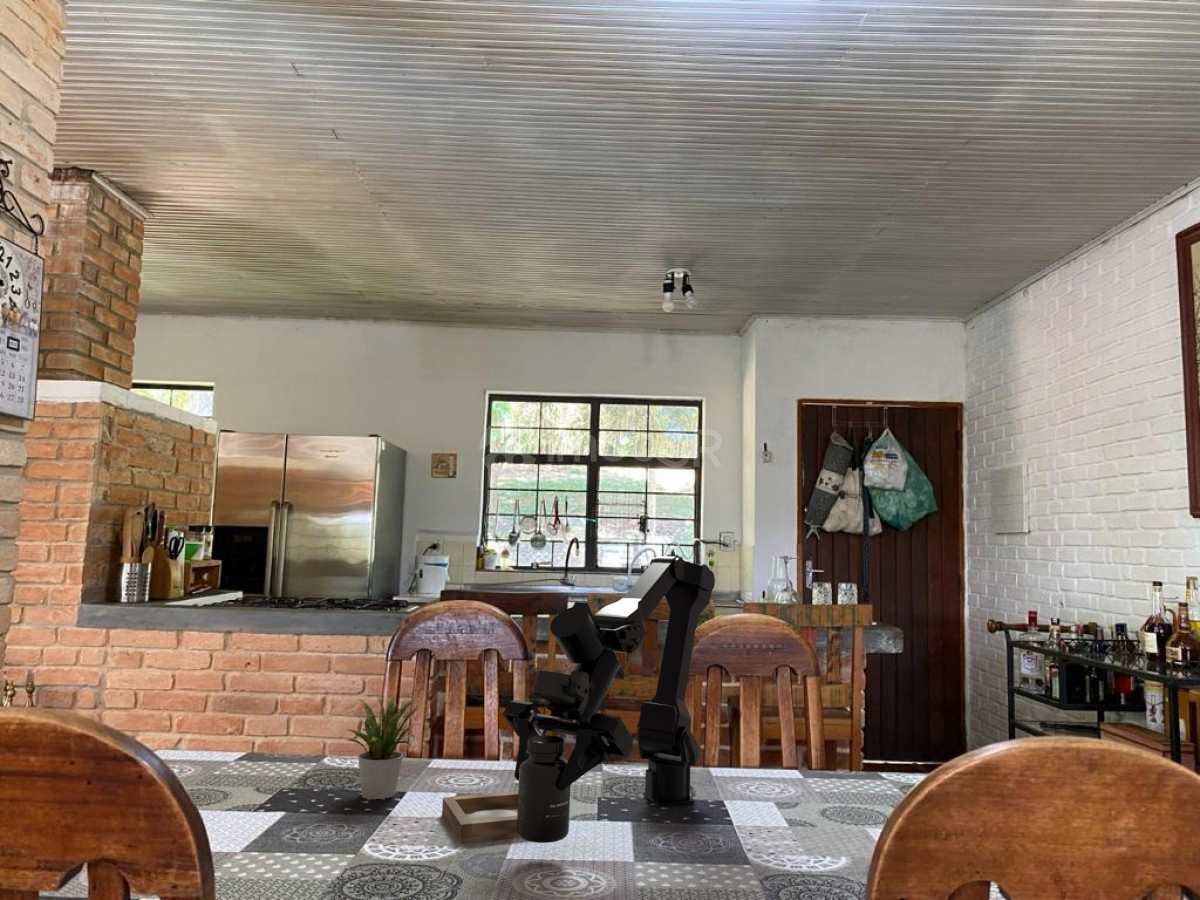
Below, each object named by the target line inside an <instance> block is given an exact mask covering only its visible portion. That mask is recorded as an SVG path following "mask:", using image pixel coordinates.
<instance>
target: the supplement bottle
mask: <svg viewBox="0 0 1200 900" xmlns="http://www.w3.org/2000/svg"><path fill="white" fill-rule="evenodd" d="M565 750H566V749H565V738H563V737H561V736H557V735H548V734H545V735H540V736H533V737H530V738H529V739H528V748H527V754H529V757H528V758H526V759H525V760H524V761H523V762H522V763H521V765H520V767H519V781H518V785H517V786H518V788H517V791H518V806H517V834H518V835H519V837H518V838H520V839H523V840H524V841H527V842H530V843H537V844H538V843H540V844H545V843H547V844H548V843H554V842H555V843H556V842H559V841H561V840H564V839H565V838H566V837H567V836H568V834H569V831H570V830H569V828H570V812H571V811H570V810H571V809H570V808H571V785H572V784H571V785H570V786H569V787H567V788H566V789H565V790H563V791H561V790H560V789H559V788H558V782H559V780H560V777H561V774H562V772H563V770H564V768H565V766H566V764H567V762H568V760H566V759H565V758H564V757H563V756H564V755H565V752H566V751H565Z"/></svg>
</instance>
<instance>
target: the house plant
mask: <svg viewBox="0 0 1200 900" xmlns="http://www.w3.org/2000/svg"><path fill="white" fill-rule="evenodd" d="M373 694H374V695H375V697H376V699H377V701H378V702H379V708H380V713H381V714H380V715H381V720H379V721H378V722H377V718H376V715H375V713H374V711H373V708H371V706H369V704H367V703H366V702H365V701H364V700H363V699H359V698H358V700H359V701H360V703H361V705H362V707H363V710H364V711H365V715H366V718H365V720H364V721H363V720H362V718H361V717H360V716H359V715H358V714H357V713H356V712H354V710H351V709H350V708H348V707H346V706H344V708H346V709H348V710H349V711H351V712H352V713H354V714H355V715H356V716H357V718H359V719H360V720H361V722H362V723H363V724H364V728H362V731H364V732H365V733H364V732H361V731H359V730H356V729H350V728H347V731H349V732H351V733H353V734H354V735H355V736H356V737H359V738H360V739H362V740H363V741H364V742H365V744H366V745H367V746H368V751H367V748H366V747H365V745H364V744H363V743H362V742H360V741H359V740H357V739H356V738H348V739H346V740H345V742H353V743H356V744H358V745H360V746H361V747H362V748H363V749H364V750H365V751H363V752H361V753H360V754H358V756H357V757H358V758H357V759H358V769H359V779H360V789H361V790H360V791H361V792H360V793H361V797H362V798H363V799H365V798H366V799H365V800H369V801H372V800H373V799H375V801H377V800H376V799H381V800H386V799H385V798H388V799H390V798H389V797H391V798H393V797H394V796H395V795H396V791H397V785H398V782H399V776H400V772H401V767H402V764H403V763H402V762H403V757H404V754H403V752H401V751H397V750H395V749H396V747H397V746H398V744H406V745H409V746H410V747H411V744H410V742H409V741H408V740H402V739H403V738H404V737H409V738H412V739H413V740H415V735H414V734H413V733H410V731H411V729H412V728H413V727H415V726H417V725H420V724H421V723H415V724H411V725H409V726H408V727H406V728H405V729H403V727H404V726H405V724H406V722H407V721H408V719H410V717H411V716H412V715H413V714H414V713H416V712H417V711H418V710H419V709H420V710H421V709H423V708H425V707H426V706H427V707H428V706H431V705H428V704H419V705H417V706H414V707H413V708H412V709H410V710H409V711H408V712H407V713H406V714H405V715H404V717H403V714H404V713H405V712H406V710H408V708H409V707H410V706H412V705H413V703H415V702H416V701H418V700H419V699H423V698H424V696H422V697H416V698H413V699H411V700H409V701H407V703H405V704H404V705H403V706H402V707H400V708H398V707H399V704H402V703H403V702H401V701H400V702H399V703H396V705H395V704H394V701H393V698H392V697H391V695H390V696H389V697H388V699H387V704H386V705H387V706H386V710H385V708H384V706H385V705H384V703H383V700H382V698H381V696H379V695H377V694H376V693H375V692H373ZM397 708H398V710H397ZM401 717H403V718H402V719H401ZM400 719H401V721H400ZM399 721H400V722H399ZM398 723H399V724H398ZM400 732H401V734H400ZM407 732H408V733H409V734H407ZM399 734H400V735H399ZM397 737H398V738H397ZM392 796H393V797H392ZM371 799H372V800H371ZM373 801H374V800H373Z"/></svg>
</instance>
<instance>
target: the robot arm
mask: <svg viewBox="0 0 1200 900" xmlns="http://www.w3.org/2000/svg"><path fill="white" fill-rule="evenodd" d="M715 577H716V575H715V574H714V572H713V571H712V570H711V569H710V567H709V566H708V565H707V564H703V563H694V562H690V561H686V560H684V559H683V558H680V557H678V556H663V555H662V556H655V557H652V559H651V560H650V562H649V566H648V567H647V569H645V571H644V572H643V573H642V575H640V577H639V578H638V579H637V581H636V582H635V583H634V584H633V585H632V586H631V587H630V588H629V590H628V591H627V592H626V593H625V595H624V596H623V597H621V599H620V600H618V601H615V602H613V603H611V604H607V605H605V606H604V607H602V608H601V609H600V610H599V611H597V612H596V613H595V614H593V612H592V610H591V607H590V605H589V603H588V602H585V601H584V602H583V601H574V604H573V606H571V607H568V608H565V609H564V610H562V611H560V612H559V613H558V614H557V615H556V616H554V617H553V618H552V620H551V622H550V625H549V630H550V632H551V634H552V636H553V637H554V639H555V641H556V643H557V644H558V645H559V646H558V647H560V649H561V650H562V652H563V655H565V657H566V658H567V660H568V661H569V662H570V663H573V664H576V665H575V667H574V668H573V670H572V672H571V673H570V674H567V673H563V672H558V671H550V670H542V669H539V670H538V671H537V674H536V677H535V681H534V684H533V688H532V691H531V694H532V695H534V696H538V697H540V698H542V699H543V700H545V701H544V703H543V705H544V707H545V708H546V710H548V711H550V714H542V713H541V711H540V710H539V708H538V707H537V705H536V703H534V702H531V701H524V700H517V699H514V700H511V701H509V702H508V704H507V705H506V706H505V709H504V710H503V712H502V716H503V718H504V719H505V720H506V722H507V723H508V724H509V726H510V727H511V729H512V730H513V732H514V733H515V734H516V736H517V737H519V738H518V739H519V742H518V751H517V756H516V764H515V768H514V769H515V770H514V775H513V776H514V778H515V779H516V781H518V782H519V767H520V765H521V763H522V762H523V761H524V760H525V759H526V758H528V757H529V754H527V748H528V739H529V738H530V737H533V736H540V735H546V733H547V731H548V732H554V733H558V734H564V735H569V736H573V737H575V738H576V739H575V745H574V748H573V749H572V751H571V754H570V756H569V759H567V764H566V766H565V768H564V770H563V772H562V774H561V777H560V780H559V782H558V788H559V789H560V790H561V791H563V790H565V789H566V788H567V787H569V786H570V785H573V784H574V783H575V782H577V781H578V780H579V779H580V778H581V777H582V776H584V775H585V774H587V773H588V772H589V771H590V770H591V771H592V770H593V769H594V768H596V767H597V766H599V765H601V764H602V763H603V762H605V761H611V759H612V757H616V758H622V759H626V760H627V759H628V758H629V756H630V754H631V751H632V750H633V747H634V739H633V737H632V735H631V733H630V731H629V730H628V728H627V727H626V724H625V723H624V721H623V720H622V718H621V716H619V715H614V714H607V713H603V712H605V711H606V709H607V707H608V705H607V703H606V701H605V698H606V696H607V694H608V691H609V689H610V688H611V686H612V684H613V681H614V679H615V680H624V679H625V672H624V669H623V666H622V660H620V659H619V658H618V657H617V655H616V654H615V653H622V654H633V653H635V652H636V651H637V649H638V648H639V646H640V644H641V643H642V641H643V639H644V637H645V635H646V633H647V631H646V630H647V629H646V624H645V623H646V622H647V620H648V618H649V617H650V615H651V614H652V612H653V611H654V610H655V609H656V607H657V606H658V605H659V604H660V602H661V601H662V600H663V599H665V601H666V603H667V605H668V609H669V614H668V620H667V627H666V633H665V638H664V643H663V649H662V656H661V661H660V666H659V672H658V677H657V678H658V679H657V685H656V690H655V694H654V696H653V697H652V698H651V699H650V701H649V702H648V701H643V703H642V705H641V706H640V712H639V713H640V714H639V720H638V723H637V725H636V727H637V729H636V740H637V745H638V750H639V751H638V752H639V757H640V759H641V760H648V761H647V763H648V765H647V766H648V767H647V768H646V770H645V783H644V784H645V790H644V791H643V793H642V794H643V797H645V798H647V800H649V801H651V802H652V803H654V804H656V805H657V806H658V807H665V806H675V805H686V804H687V805H688V804H695V803H696V800H695V798H694V797H691V766H696V765H697V764H698V762H699V758H700V751H701V749H700V746H699V744H698V742H697V740H696V737H695V736H694V734H693V733H692V731H691V729H692V717H691V714H690V713H689V709H688V707H687V704H686V702H685V701H686V694H687V686H688V681H689V675H690V668H691V662H692V661H691V660H692V657H693V655H692V654H693V649H694V643H695V637H696V630H697V624H698V619H699V616H700V615H701V613H702V612H703V611H704V610H705V609H706V608H707V607H708V605H709V604H710V602H711V601H710V600H711V597H712V593H713V590H714V588H715V585H716V578H715ZM664 597H665V598H664ZM599 711H601V712H602V713H601V712H599ZM570 787H571V786H570Z"/></svg>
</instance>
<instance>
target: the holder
mask: <svg viewBox="0 0 1200 900" xmlns="http://www.w3.org/2000/svg"><path fill="white" fill-rule="evenodd" d="M517 806H518V790H515V791H504V792H503V791H502V792H493V793H492V792H491V793H482V794H481V793H480V794H469V795H458V796H445V797H442V809H441V811H442V812H441V815H442V816H444V817H443V818H444V820H445V822H446V823H447V824H448V827H449V828H450V829H451V830H452V833H454V835H456V836H455V837H456V839H457V840H458V842H459V843H460V844H467V843H476V842H484V841H485V842H486V840H487V841H494V840H503V839H513V838H514V839H515V838H520V837H519V835H518V834H517ZM466 842H467V843H466Z"/></svg>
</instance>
